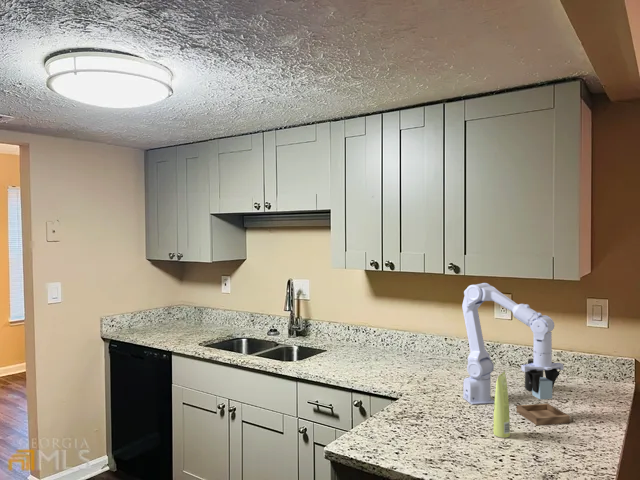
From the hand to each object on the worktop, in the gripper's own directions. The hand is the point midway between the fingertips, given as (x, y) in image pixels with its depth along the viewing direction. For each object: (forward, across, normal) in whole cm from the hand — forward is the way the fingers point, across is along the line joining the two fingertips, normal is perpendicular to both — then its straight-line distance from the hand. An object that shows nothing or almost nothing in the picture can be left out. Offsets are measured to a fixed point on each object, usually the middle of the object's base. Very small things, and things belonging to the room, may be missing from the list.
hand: (542, 391), depth 167 cm
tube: (+9, -21, -11) cm, 26 cm away
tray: (+9, 0, 0) cm, 9 cm away
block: (+2, 0, 0) cm, 2 cm away
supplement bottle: (+9, +14, +27) cm, 32 cm away
